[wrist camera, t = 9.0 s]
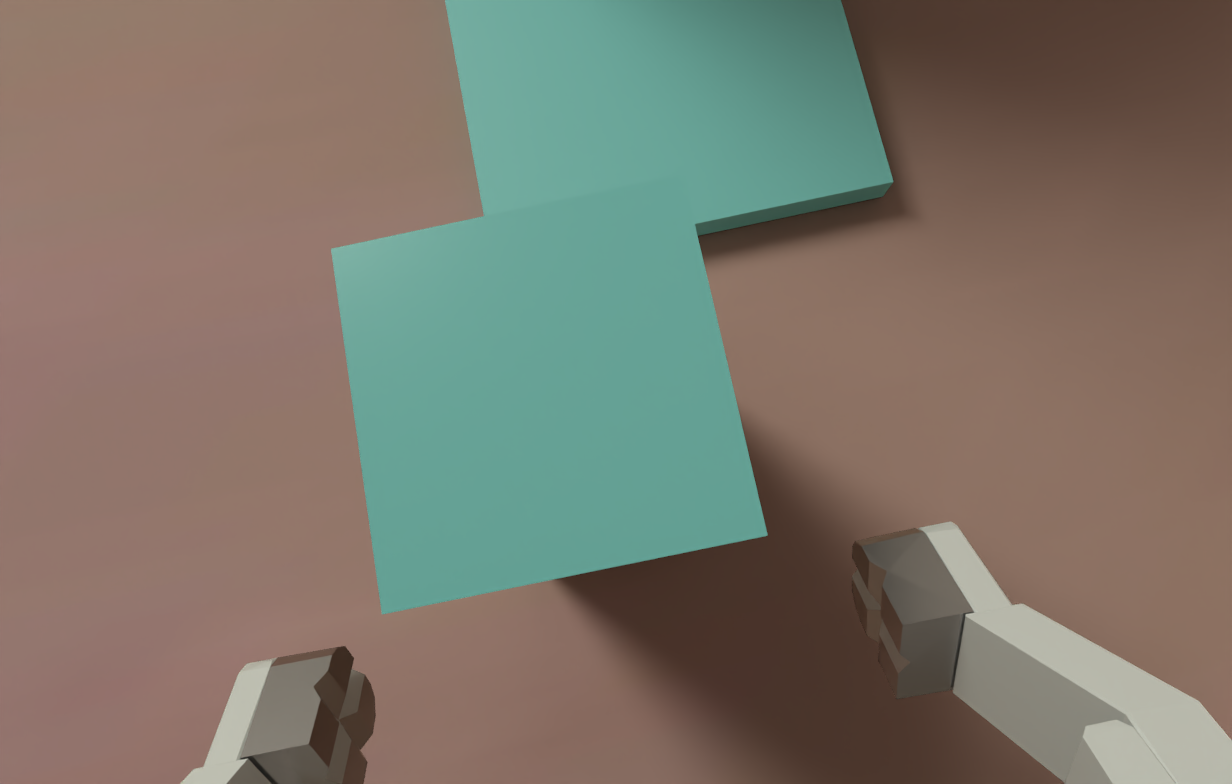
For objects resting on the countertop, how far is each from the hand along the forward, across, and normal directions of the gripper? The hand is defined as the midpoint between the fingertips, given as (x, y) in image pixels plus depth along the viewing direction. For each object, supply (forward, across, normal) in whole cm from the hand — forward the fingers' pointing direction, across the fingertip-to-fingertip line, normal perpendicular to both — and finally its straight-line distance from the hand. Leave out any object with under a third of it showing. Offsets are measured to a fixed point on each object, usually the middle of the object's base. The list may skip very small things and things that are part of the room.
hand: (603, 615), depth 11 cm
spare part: (+9, 0, +4) cm, 10 cm away
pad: (+17, -4, -4) cm, 18 cm away
